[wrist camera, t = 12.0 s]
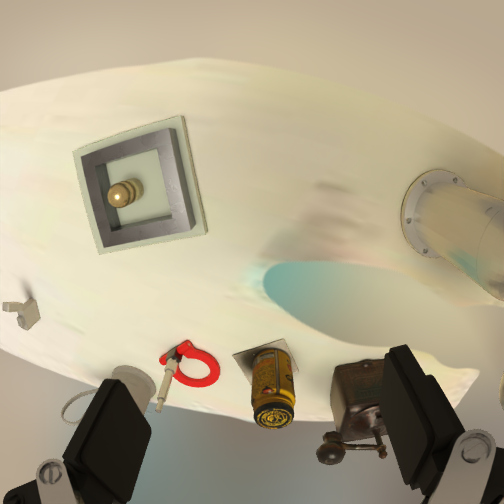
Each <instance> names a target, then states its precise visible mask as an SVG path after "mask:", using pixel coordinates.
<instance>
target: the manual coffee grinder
mask: <svg viewBox="0 0 504 504" xmlns="http://www.w3.org/2000/svg"><path fill="white" fill-rule="evenodd" d="M383 369H384V359H383V360H372V361H363V362H359V363H353V364H347V365H343V366H339V367H336V369H335V372H334V375H333V381H332V387H331V394H330V397H331V408H332V412H333V417H334V421H335V426H336V431H337V432H336V431H331V432H326V433H325V434H324V435H323V441H324V443H323V444H322V445H321V446H320V447H319V448H318V449H317V452H316V455H317V458H318V460H319V462H321V463H323V464H326V465H334V464H338V463H340V462H341V461H342V460H343V458H344V455H345V453H346V452H345V450H377V451H378V452H379V457H380V458H381V459H384V458H386V456H387V452H386V451H385V450H386V445H383V442H382V439H381V436H383V435H388V433H387V430H386V427H385V424H384V421H383V419H382V416H381V413H380V409H379V401H380V394H381V386H382V378H383ZM373 437H375V439H376V442H377V445H369V444H360V445H359V444H358V445H356V444H345V443H342V442H349V441H355V440H361V439H367V438H373Z"/></svg>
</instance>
